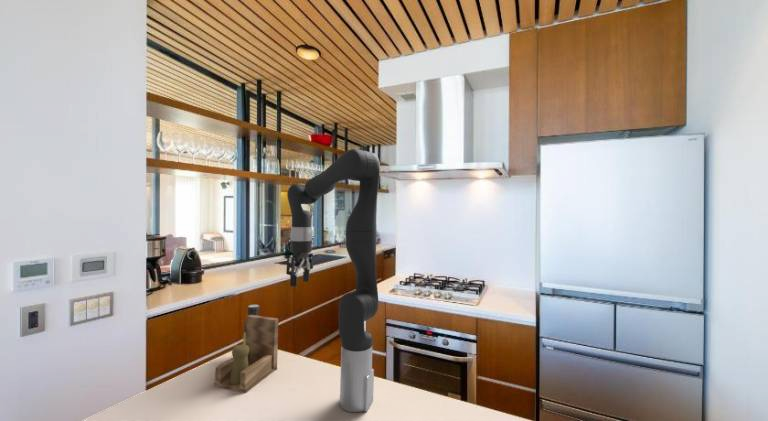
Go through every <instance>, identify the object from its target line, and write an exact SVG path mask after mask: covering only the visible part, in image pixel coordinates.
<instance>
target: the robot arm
mask: <svg viewBox="0 0 768 421" xmlns="http://www.w3.org/2000/svg"><path fill="white" fill-rule="evenodd" d="M380 172H381V164H380V159H379V157H378V155H377V154H376V153H374V152H371V151H367V150H362V149H357V148H351V149H348V150H347V151H345V152H343V153H342V154H341V155H340V156H339V157H338V158H337V159H336V160H334V161H333V162H332V163H331V164H330V165H329V166H328V167H327V168H326V169H325V170H323V171H321V172H320V173H318V174H317V175H314V176H313V177H311V178H310V179H308V180H307V181H306V182H305V184H297V183H296V184H295V183H294V184H291V185H290V186H289V188H288V190H287V192H286V193H287V194H286V195H287V201H288V203H289V209H290V212H291V213H290V214H291V230H290V244H289V245H290V246H289V249H290V250H289V251H290V253H292V254H293V255H292V257H290V256H288V257H287V258H286V259H287V260H286V273H285V274H286V275H287V276H288V275H289V276H290V278H289V282H290V283H289V285H290V287H297V285H298V273H299V271H301V269H302V270H303V272H302V275H303V276H302V281H303V282H304V283H308V282H309V281H310V272H311V270H313V269H314V253H311V252H312V246H313V245H312V244H313V231H312V220H313V219H312V218H313V217H312V216H313V215H312V213H311V212H310V211H308V210H305V209H303V206H302V205H311V204H315V203H316V202H317V201H318V200H319V199H320V198H321V197H323V196H324V195H327V194H329V193H331V192H332V191H333V190H335V187H337V186H336V185H337V183H338V182H342V181H346V180H351V181H357V182H359V187H358V188H359V189H358V190H359V192H358V197H357V200H356V203H355V206H354V208H352V211H351V213H350V215H349V216H348V219H347V221H346V225H345V226H346V227H345V246H346V247H345V248H346V252H347V254H348V256H349V259H350V261H351V263H352V265H353V268H354V271H355V279H356V280H355V281H356V282H355V283H356V284H355V290H354V291H351V292H350V291H349V292H347V293H346V294H344V295H343V296H341V298H340V300H339V303H338V334H339V338H340V341H341V344H340V345H341V347H340V350H341V351H340V380H339V382H340V383H339V388H340V390H339V392H340V393H339V406H340V408H341V409H343V410H344V411H345V412H349V413H359V412H368V410H369V409H370V407H371V405H372V403H373V401H374V386H375V385H374V382H375V377H374V376H375V369H374V368H373V341H374V340H373V335H372V334H371V333H370V332H368V331H366V330H365V322H366V321H368V320H370V319H372V318H373V317H375V316H376V315H377V313H378V309H379V292H378V280H377V211H378V210H377V209H378V208H377V207H378V195H379V194H378V193H379V186H380V184H379V183H380V177H381V176H380V174H381V173H380Z"/></svg>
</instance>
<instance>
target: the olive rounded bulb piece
mask: <svg viewBox="0 0 768 421" xmlns="http://www.w3.org/2000/svg"><path fill="white" fill-rule="evenodd" d="M248 354H249V347H248V346H247V345H245V344H243V343H242V344H238V345H236V346H234V347H233V348H232V351H231V356H232V358H233V357H234V359H233V365H232V371H231V377H230V383H231V384H234V385H238V384H240V372H241V371H243V370H244V369H246V368H247V367H249V365H248V356H247V355H248Z"/></svg>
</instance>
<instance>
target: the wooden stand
mask: <svg viewBox="0 0 768 421" xmlns="http://www.w3.org/2000/svg"><path fill="white" fill-rule="evenodd" d="M245 322H246V345H247V346H248V347H249V354H248V355H247V356H248V365H249V367H247V368H246V369H244V370H243V371H241V372H240V384H238V385H234V384H231V383H230V377H231V371H232V365H233V359H234V357H233V356H232V357H230V358H229V359H227V360H225V361H224V362H222V363H221V364H219V365H217V366H215V368H214V369H215V372H214V373H215V376H214V377H215V378H214V384H213V385H214V386H213V387H217V388H222V389H227V390H230V391H234V392H235V391H236V392H240V393H243V394H247V392H249V391H250V390H251V389H253V388H254V387H256V386H257V385H259V383H261V382H262V381H263V380H265V379H266V378H267V377H269V376H270V375H271V374H273V373H274V372H275V371H277V370H278V350H279V349H278V347H279V345H278V344H279V318H276V317H272V316H271V317H269V316H264V315H263V316H262V315H259V316H256V315H248V314H247V315H246V320H245Z"/></svg>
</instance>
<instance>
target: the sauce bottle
mask: <svg viewBox="0 0 768 421" xmlns="http://www.w3.org/2000/svg"><path fill="white" fill-rule="evenodd" d="M259 310H260V305H259V304H250V305H248V306H247V316H248V315H256V316H260V315H259ZM242 340H243V342H242V344H245V345H246V321H245V323H244V325H243V339H242Z"/></svg>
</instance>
